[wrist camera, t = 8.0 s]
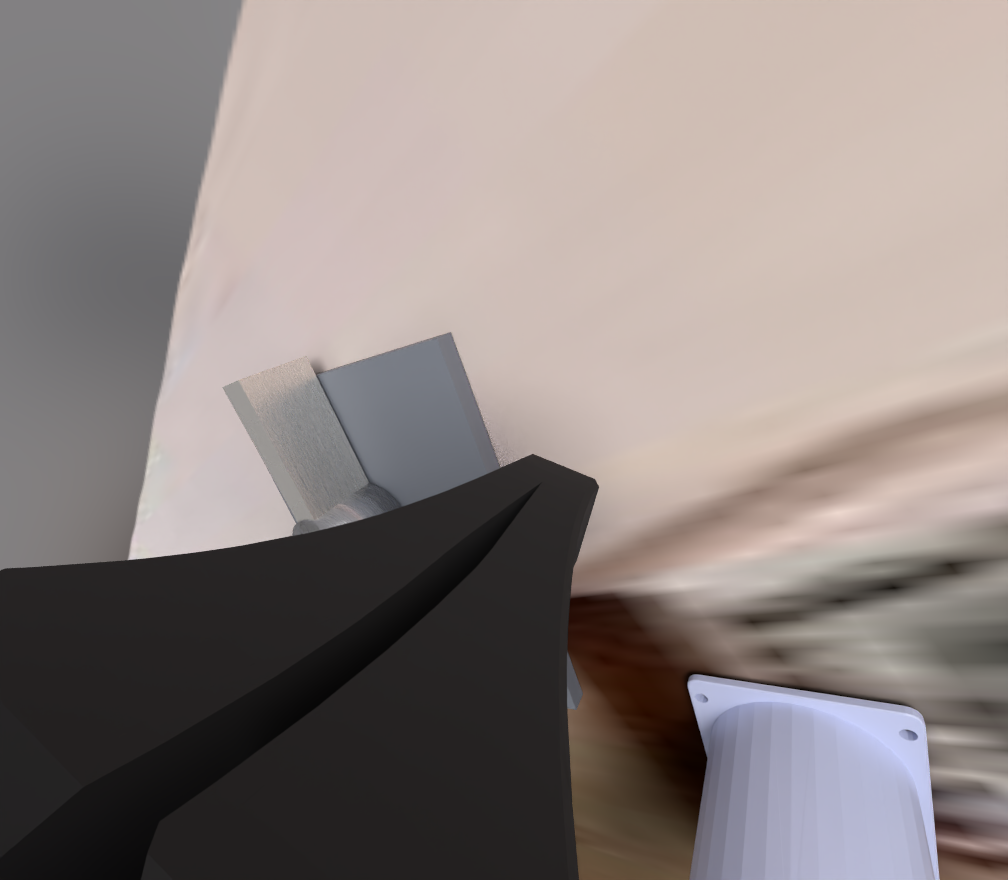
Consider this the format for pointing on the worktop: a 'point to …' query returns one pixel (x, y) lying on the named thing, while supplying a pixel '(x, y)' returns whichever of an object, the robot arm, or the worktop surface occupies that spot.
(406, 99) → the worktop surface
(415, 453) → the plate
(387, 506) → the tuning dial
